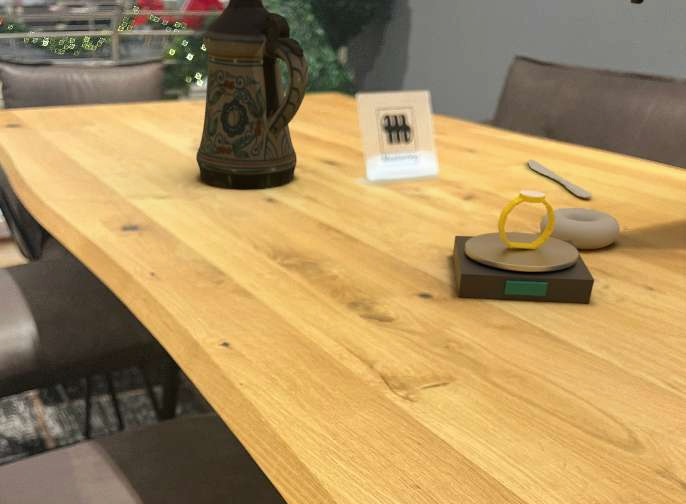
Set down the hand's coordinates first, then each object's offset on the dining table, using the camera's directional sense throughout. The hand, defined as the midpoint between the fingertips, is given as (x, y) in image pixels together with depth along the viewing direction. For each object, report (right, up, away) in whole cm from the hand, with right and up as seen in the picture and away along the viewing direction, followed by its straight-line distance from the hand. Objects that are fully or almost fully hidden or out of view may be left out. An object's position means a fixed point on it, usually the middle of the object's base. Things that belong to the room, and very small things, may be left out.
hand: (679, 4), depth 87 cm
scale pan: (-18, -28, 0) cm, 34 cm away
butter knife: (-1, -2, +42) cm, 42 cm away
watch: (-18, -28, 0) cm, 33 cm away
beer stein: (-51, -3, +41) cm, 66 cm away
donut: (-7, -22, +14) cm, 27 cm away
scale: (-18, -31, +2) cm, 36 cm away
